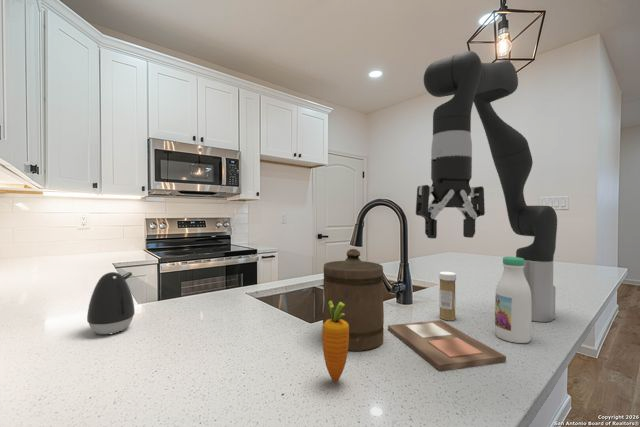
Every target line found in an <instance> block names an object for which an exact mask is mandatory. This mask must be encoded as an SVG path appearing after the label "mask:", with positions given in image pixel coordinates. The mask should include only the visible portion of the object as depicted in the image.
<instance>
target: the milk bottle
mask: <svg viewBox="0 0 640 427" xmlns="http://www.w3.org/2000/svg"><path fill="white" fill-rule="evenodd" d="M502 266H503V271H502V274H501V276H500V278H499V279H498V281H497V284H496V288H495V295H494V296H495V301H494V302H495V305H494V333H495V335H496V337H498V339H501V340H504V341H507V342H511V343H515V344H528V343H530V342H531V341H532V320H531V315H532V302H531V290H530V287H529V284H528V282H527V280H526V278H525V275H524V272H523V268H524V259H523V258H519V257H516V256H504V257H503V258H502Z"/></svg>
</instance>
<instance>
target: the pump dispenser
mask: <svg viewBox="0 0 640 427" xmlns="http://www.w3.org/2000/svg"><path fill="white" fill-rule="evenodd" d="M132 276H133V273H132V272H131V271H129V272H127V273H125V274H123V275H122V274H121V273H118V272H114V271H113V272H111V271H110V272H107V273H105V274H103V275H102V276H101V277H99V279H98V281H97V283H96V285H95V286H94V289H93V291H92V295H91V297H90V300H89V303H88V309H87V315H86V321H87V324H88V325H89V327H90V329H91V330H92V332H94V333H95V334H97V335H102V334H110V333H115V334H117V333H116V332H118V333H120V332H119V331H121V332H122V331H124V330H126V329H127V328H128V327H129V326H130V325H131V323H132V321H133V318H134V316H135V313H136V312H135V304H134V298H133V294H132V291H131V289H130V286H129V284H128V282H127V280H128V279H129V278H130V277H132ZM110 335H111V334H110Z"/></svg>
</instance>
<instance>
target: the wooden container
mask: <svg viewBox="0 0 640 427" xmlns="http://www.w3.org/2000/svg"><path fill="white" fill-rule="evenodd" d="M360 256H361V251H359V250H358V249H356V248H350V249H349V250H347V251H346V258H345V260H335V261H329V262H326V263H324V264H323V289H322V290H323V292H322V325H323V324H324V323H325V322H326V321H327V320H328V319H332V317H331V313H330V306H329V303H328V302H329V301H332V303H333V305H334V313H335V310H336V308H337V306H338V304H339V302H342V303H343V304H345V305H344V307H343V308H342V309H341V311H340V314H341V313H344V314H345V315H344V316H343V317H342V318H341V319H342V320H344V321H346V322H347V323H348V324H349V345H348V352H349V351H350V352H361V351H369V350H374V349H376V348H379V347H380V346H382V344H383V343H384V332H385V330H384V321H385V320H384V318H385V317H384V316H385V314H384V312H385V311H384V267H383V266H384V265H382V264H380V263H377V262H373V261H371V262H370V261H363V260H361V259H360V258H359V257H360ZM340 314H339V315H340Z"/></svg>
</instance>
